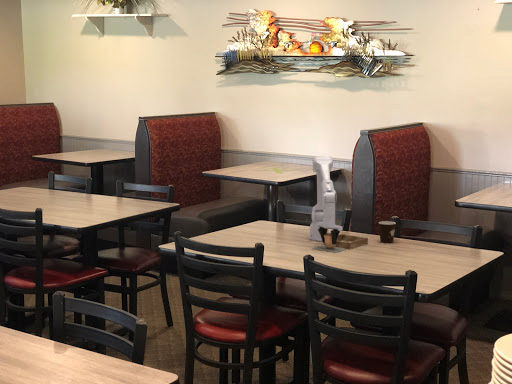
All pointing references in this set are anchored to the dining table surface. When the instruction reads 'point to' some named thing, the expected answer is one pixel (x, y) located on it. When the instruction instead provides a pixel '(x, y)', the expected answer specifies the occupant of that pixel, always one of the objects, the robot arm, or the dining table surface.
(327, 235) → the terracotta pot
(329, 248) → the rubber mat
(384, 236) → the coffee mug
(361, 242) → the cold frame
